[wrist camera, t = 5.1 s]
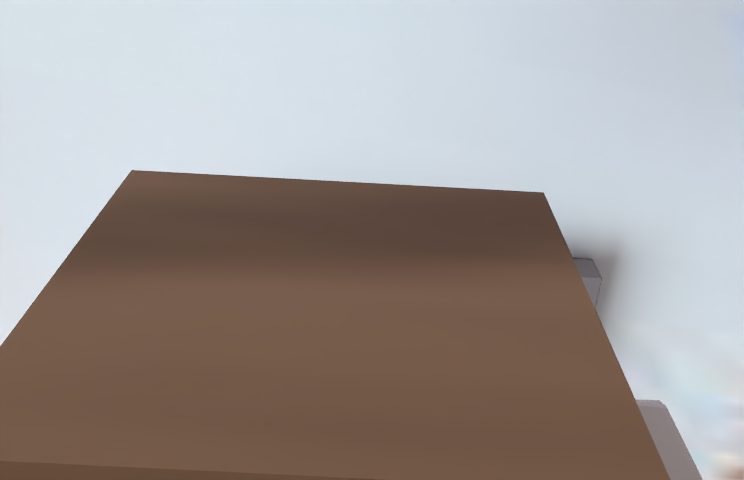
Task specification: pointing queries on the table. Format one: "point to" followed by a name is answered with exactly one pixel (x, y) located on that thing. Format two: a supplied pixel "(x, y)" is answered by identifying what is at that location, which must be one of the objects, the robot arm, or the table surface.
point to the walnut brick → (317, 341)
